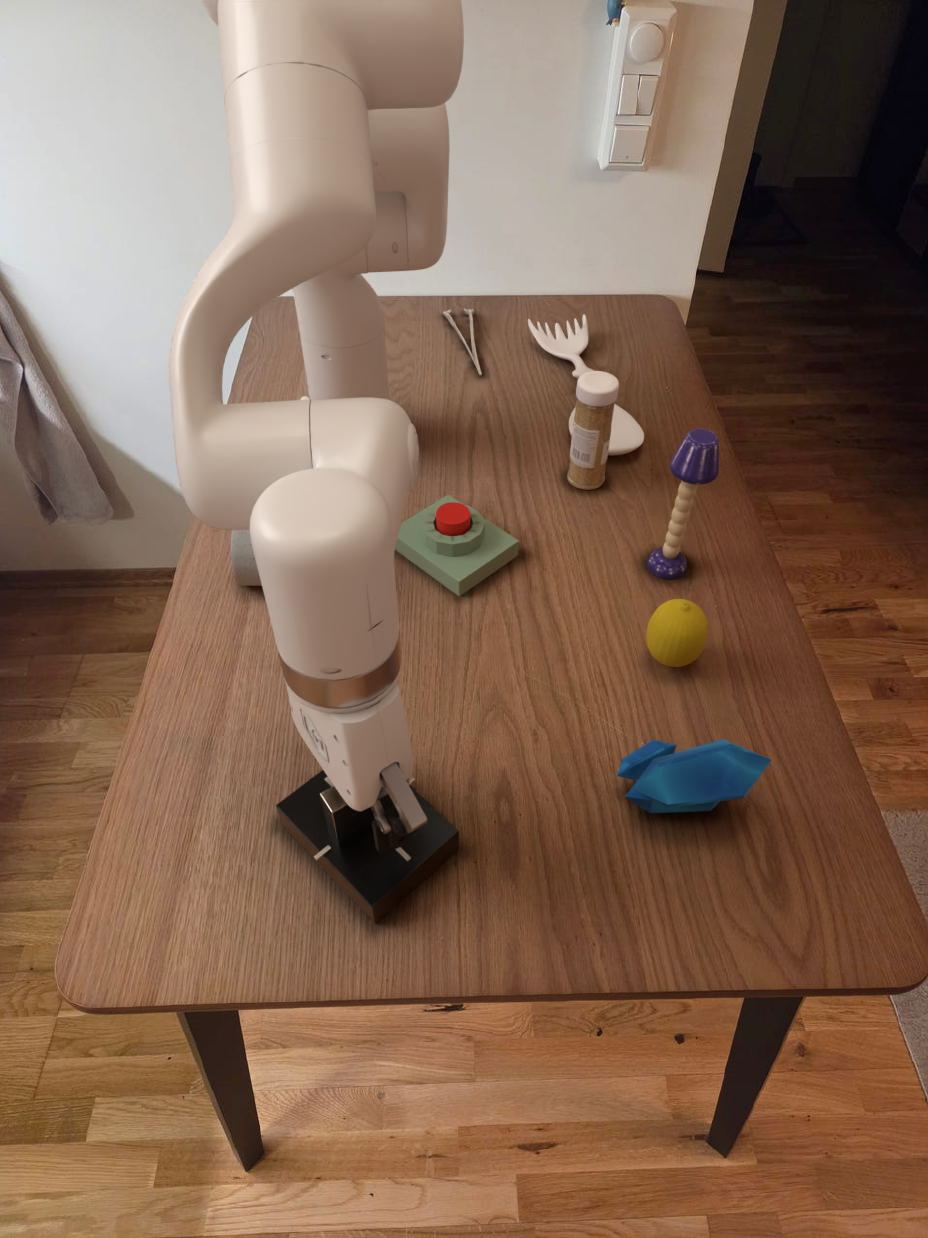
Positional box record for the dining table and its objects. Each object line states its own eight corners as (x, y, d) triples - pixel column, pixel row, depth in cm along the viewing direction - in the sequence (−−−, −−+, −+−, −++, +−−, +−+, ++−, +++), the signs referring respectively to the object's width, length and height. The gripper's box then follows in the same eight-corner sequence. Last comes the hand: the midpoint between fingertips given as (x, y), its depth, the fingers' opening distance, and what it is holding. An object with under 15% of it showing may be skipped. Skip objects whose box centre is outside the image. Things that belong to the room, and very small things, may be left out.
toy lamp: (659, 545, 95) (689, 416, 83) (698, 562, 93) (735, 432, 81) (639, 569, 92) (667, 440, 80) (679, 587, 90) (714, 457, 78)
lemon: (663, 691, 81) (679, 634, 75) (629, 651, 84) (641, 594, 78) (709, 670, 83) (728, 613, 77) (674, 632, 86) (690, 575, 80)
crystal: (605, 724, 70) (752, 692, 69) (615, 778, 76) (750, 750, 75) (625, 804, 65) (785, 771, 64) (634, 855, 71) (780, 826, 70)
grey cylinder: (317, 601, 89) (308, 544, 83) (237, 600, 89) (223, 544, 83) (328, 534, 96) (320, 478, 90) (255, 533, 96) (242, 477, 90)
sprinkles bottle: (612, 483, 102) (628, 383, 92) (582, 496, 101) (595, 396, 91) (587, 463, 105) (601, 364, 95) (558, 476, 103) (568, 376, 93)
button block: (389, 545, 95) (387, 517, 92) (448, 508, 99) (447, 481, 96) (459, 596, 89) (459, 569, 86) (518, 555, 94) (520, 527, 91)
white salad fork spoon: (584, 332, 126) (586, 310, 124) (652, 463, 105) (656, 439, 102) (524, 337, 125) (525, 315, 123) (580, 470, 104) (583, 447, 101)
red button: (429, 525, 91) (428, 512, 90) (453, 510, 93) (453, 497, 92) (452, 541, 90) (452, 529, 88) (477, 525, 91) (477, 513, 90)
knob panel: (274, 828, 71) (268, 808, 69) (369, 755, 76) (366, 735, 74) (369, 930, 65) (365, 912, 63) (464, 844, 70) (464, 824, 68)
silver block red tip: (338, 846, 67) (331, 811, 63) (326, 826, 68) (318, 791, 64) (405, 808, 69) (401, 772, 65) (392, 790, 70) (388, 754, 66)
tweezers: (441, 316, 129) (441, 303, 128) (472, 313, 130) (473, 301, 129) (463, 385, 119) (464, 372, 117) (496, 382, 119) (497, 370, 118)
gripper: (227, 593, 57) (269, 738, 70) (357, 780, 48) (378, 909, 60) (327, 549, 60) (350, 696, 73) (469, 717, 50) (466, 853, 63)
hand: (363, 793), depth 66 cm, fingers open, 9 cm apart
